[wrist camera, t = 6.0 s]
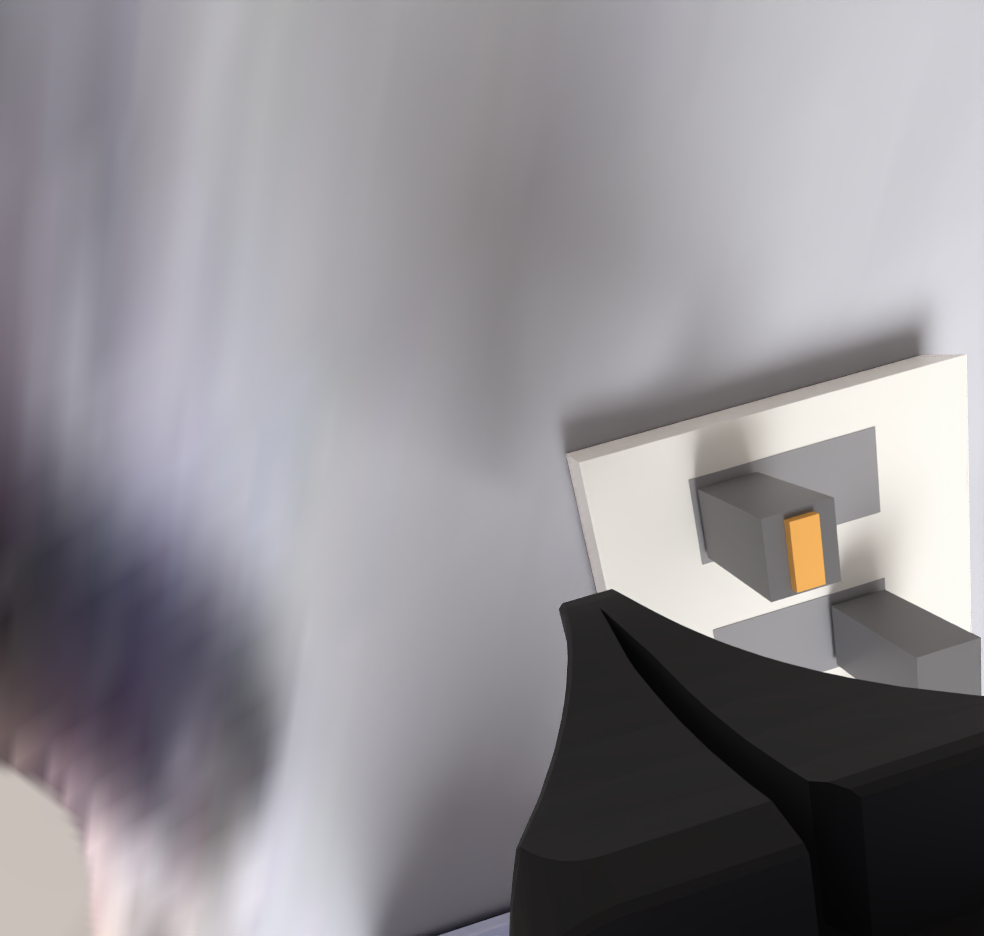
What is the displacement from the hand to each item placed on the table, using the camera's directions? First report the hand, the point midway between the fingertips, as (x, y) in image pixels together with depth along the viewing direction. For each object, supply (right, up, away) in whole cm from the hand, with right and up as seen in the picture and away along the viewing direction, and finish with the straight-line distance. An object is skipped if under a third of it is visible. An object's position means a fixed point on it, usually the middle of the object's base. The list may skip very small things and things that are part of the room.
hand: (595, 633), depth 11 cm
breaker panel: (+8, -2, +7) cm, 11 cm away
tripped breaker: (+5, +2, +4) cm, 7 cm away
